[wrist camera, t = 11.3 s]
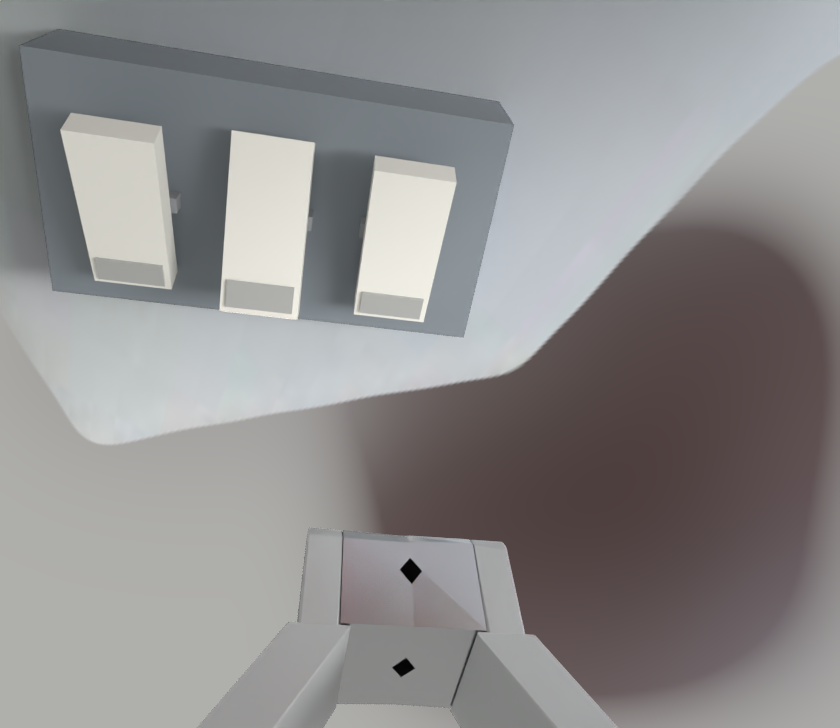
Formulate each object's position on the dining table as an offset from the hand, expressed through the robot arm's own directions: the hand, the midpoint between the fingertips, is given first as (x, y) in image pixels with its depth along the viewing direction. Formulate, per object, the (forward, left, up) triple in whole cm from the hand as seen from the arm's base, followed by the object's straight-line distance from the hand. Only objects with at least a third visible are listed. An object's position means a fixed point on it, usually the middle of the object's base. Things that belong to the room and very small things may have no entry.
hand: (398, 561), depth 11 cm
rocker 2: (+5, +7, -27) cm, 28 cm away
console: (+5, +7, -34) cm, 35 cm away
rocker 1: (+12, +7, -27) cm, 30 cm away
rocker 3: (-2, +7, -27) cm, 28 cm away
